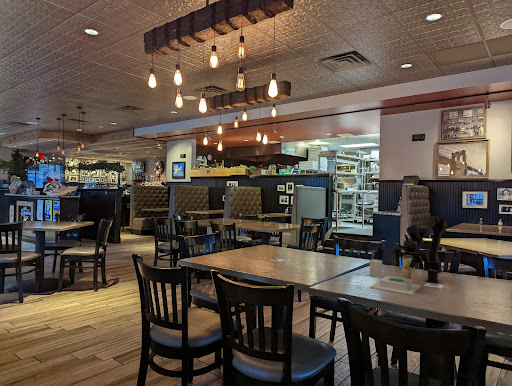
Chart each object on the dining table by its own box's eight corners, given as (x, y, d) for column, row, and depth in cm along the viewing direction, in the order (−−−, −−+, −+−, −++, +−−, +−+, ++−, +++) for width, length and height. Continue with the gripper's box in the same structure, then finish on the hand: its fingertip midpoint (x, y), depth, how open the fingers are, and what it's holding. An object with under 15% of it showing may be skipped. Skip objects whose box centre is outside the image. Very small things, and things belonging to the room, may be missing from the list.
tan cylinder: (408, 276, 199) (408, 255, 199) (412, 278, 194) (413, 257, 194) (400, 276, 198) (400, 255, 198) (404, 278, 193) (405, 257, 193)
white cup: (373, 277, 224) (374, 262, 224) (366, 274, 231) (367, 259, 231) (384, 277, 226) (384, 261, 226) (377, 274, 234) (377, 259, 234)
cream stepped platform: (382, 280, 218) (382, 273, 218) (421, 286, 205) (421, 279, 205) (369, 287, 199) (370, 280, 199) (411, 295, 186) (411, 287, 186)
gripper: (395, 233, 206) (384, 254, 199) (427, 237, 191) (417, 259, 184) (401, 246, 211) (391, 266, 204) (433, 250, 196) (424, 272, 189)
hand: (405, 266), depth 195 cm, fingers closed on tan cylinder, 5 cm apart
